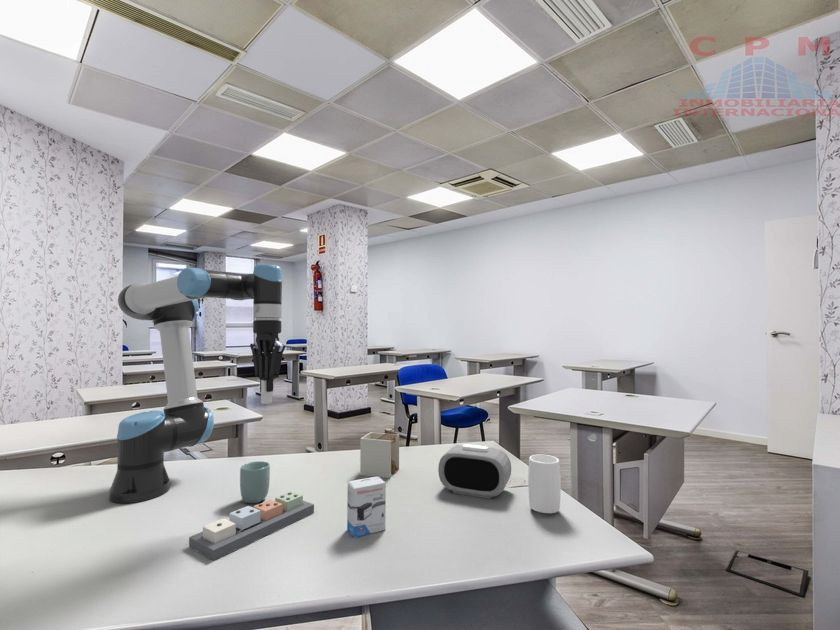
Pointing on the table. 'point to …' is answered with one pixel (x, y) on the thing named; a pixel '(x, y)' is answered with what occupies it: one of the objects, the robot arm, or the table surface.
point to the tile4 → (290, 500)
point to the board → (248, 533)
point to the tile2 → (245, 517)
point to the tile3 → (269, 509)
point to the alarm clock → (475, 470)
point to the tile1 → (219, 531)
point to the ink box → (366, 506)
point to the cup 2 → (544, 483)
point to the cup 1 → (254, 481)
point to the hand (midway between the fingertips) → (266, 403)
